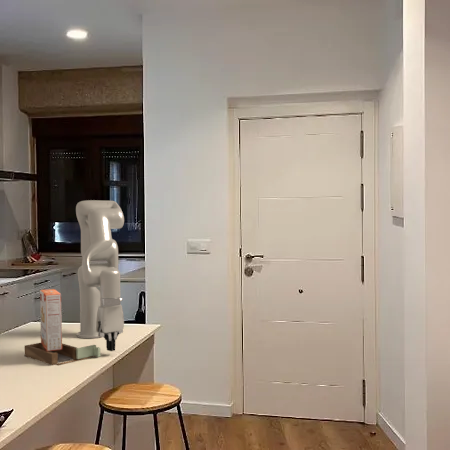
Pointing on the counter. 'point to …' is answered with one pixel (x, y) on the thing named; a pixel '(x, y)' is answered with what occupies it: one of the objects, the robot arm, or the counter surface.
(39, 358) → the box
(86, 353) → the pale green l-shaped block
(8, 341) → the counter surface
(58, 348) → the cracker box
